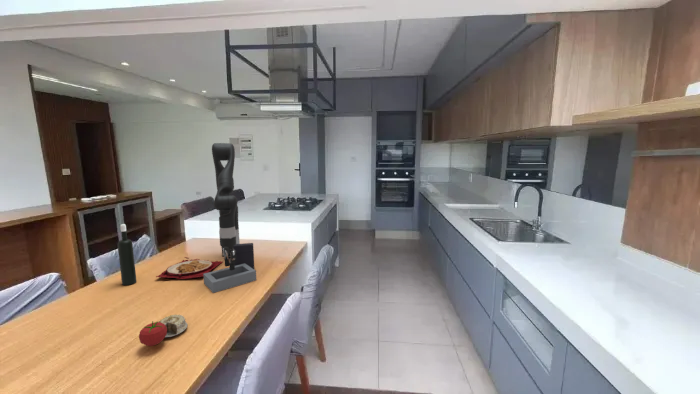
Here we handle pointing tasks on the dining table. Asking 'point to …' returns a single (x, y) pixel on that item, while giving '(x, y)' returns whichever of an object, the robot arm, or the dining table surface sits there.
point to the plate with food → (189, 269)
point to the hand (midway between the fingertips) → (229, 267)
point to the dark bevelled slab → (244, 254)
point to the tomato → (153, 333)
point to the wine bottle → (126, 258)
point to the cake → (174, 324)
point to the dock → (229, 277)
